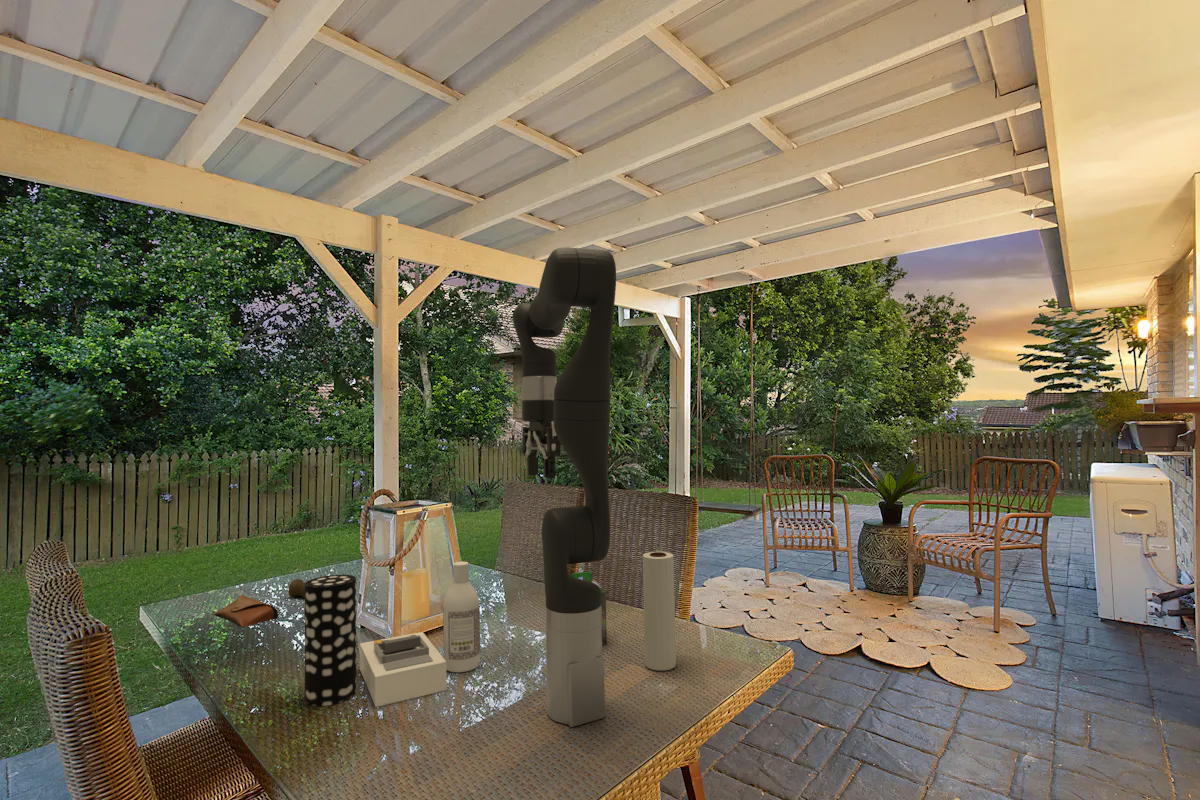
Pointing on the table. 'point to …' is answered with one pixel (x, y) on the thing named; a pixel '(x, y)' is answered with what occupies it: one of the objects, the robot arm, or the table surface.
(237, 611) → the sunglasses case
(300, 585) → the kendama
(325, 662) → the spotted tube
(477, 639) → the bath foam
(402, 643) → the rocker paddle
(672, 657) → the paper towel roll
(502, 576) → the table surface
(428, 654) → the switch box
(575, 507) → the robot arm
